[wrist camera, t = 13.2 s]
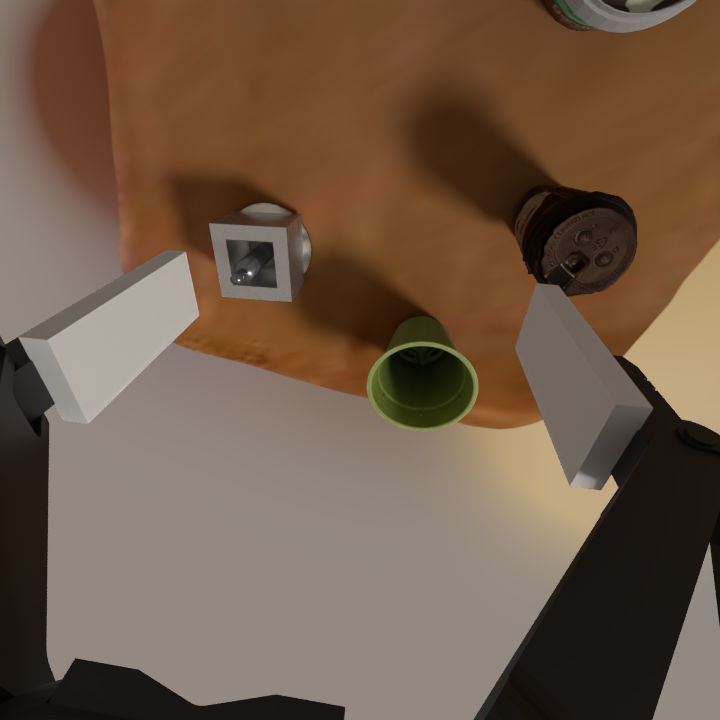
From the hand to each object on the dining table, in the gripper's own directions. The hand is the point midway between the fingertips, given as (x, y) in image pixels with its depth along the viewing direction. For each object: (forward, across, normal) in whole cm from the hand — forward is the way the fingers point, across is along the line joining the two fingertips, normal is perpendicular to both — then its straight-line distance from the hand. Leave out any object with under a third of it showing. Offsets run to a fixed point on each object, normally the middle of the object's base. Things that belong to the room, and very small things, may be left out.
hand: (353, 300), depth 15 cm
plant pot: (+31, +5, -19) cm, 37 cm away
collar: (+30, -14, -9) cm, 34 cm away
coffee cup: (+31, +16, -3) cm, 35 cm away
